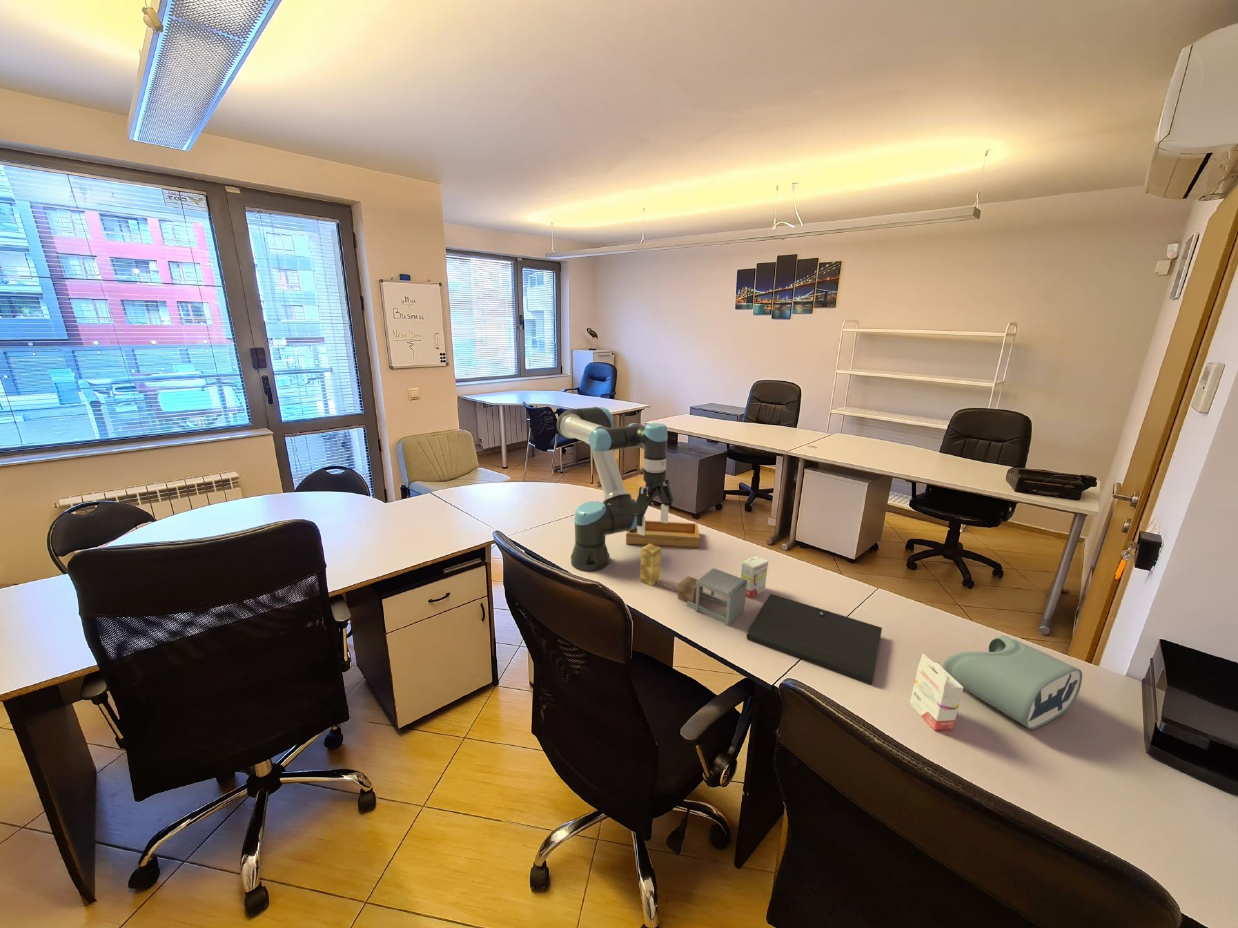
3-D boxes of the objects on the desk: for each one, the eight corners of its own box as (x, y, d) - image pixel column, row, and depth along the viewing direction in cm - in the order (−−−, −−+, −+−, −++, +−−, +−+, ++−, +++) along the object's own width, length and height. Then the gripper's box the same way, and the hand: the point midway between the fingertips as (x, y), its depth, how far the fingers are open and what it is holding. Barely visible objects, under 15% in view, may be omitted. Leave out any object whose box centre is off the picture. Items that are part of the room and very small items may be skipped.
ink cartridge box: (954, 729, 107) (968, 676, 103) (934, 731, 106) (947, 677, 102) (927, 701, 115) (939, 651, 111) (908, 702, 114) (920, 651, 110)
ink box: (749, 598, 158) (753, 567, 154) (738, 592, 162) (741, 561, 158) (765, 590, 163) (769, 560, 159) (754, 584, 166) (757, 554, 163)
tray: (696, 534, 208) (697, 522, 207) (699, 549, 194) (700, 536, 192) (628, 530, 211) (628, 519, 209) (625, 545, 196) (626, 533, 195)
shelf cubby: (685, 606, 153) (687, 577, 149) (702, 593, 161) (704, 564, 158) (727, 626, 143) (730, 594, 140) (744, 610, 151) (747, 580, 148)
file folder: (882, 626, 138) (873, 675, 119) (880, 637, 139) (871, 688, 120) (770, 592, 155) (747, 630, 136) (769, 602, 157) (746, 642, 137)
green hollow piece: (1022, 738, 105) (1034, 689, 101) (937, 684, 121) (945, 641, 118) (1074, 708, 113) (1087, 663, 110) (988, 662, 130) (997, 621, 127)
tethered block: (639, 581, 167) (640, 548, 164) (649, 575, 172) (650, 543, 168) (693, 604, 154) (695, 569, 150) (702, 597, 158) (704, 563, 154)
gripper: (640, 480, 145) (639, 542, 150) (684, 464, 163) (681, 520, 169) (622, 475, 149) (621, 536, 155) (667, 460, 167) (664, 515, 173)
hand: (652, 528), depth 162 cm, fingers open, 13 cm apart
